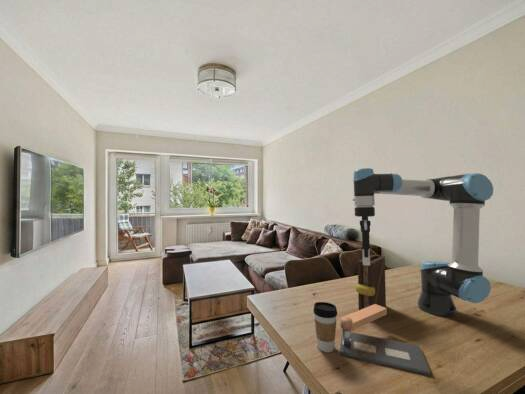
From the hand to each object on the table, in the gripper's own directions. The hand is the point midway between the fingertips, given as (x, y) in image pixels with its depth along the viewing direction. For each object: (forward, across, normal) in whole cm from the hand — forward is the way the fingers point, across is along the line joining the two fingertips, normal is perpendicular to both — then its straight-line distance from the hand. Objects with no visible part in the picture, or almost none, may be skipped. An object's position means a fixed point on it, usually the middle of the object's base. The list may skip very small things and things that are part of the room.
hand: (366, 264), depth 94 cm
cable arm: (+20, +5, -2) cm, 21 cm away
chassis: (+27, +12, +3) cm, 30 cm away
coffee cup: (+27, +16, -15) cm, 35 cm away
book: (+28, -21, +3) cm, 35 cm away
